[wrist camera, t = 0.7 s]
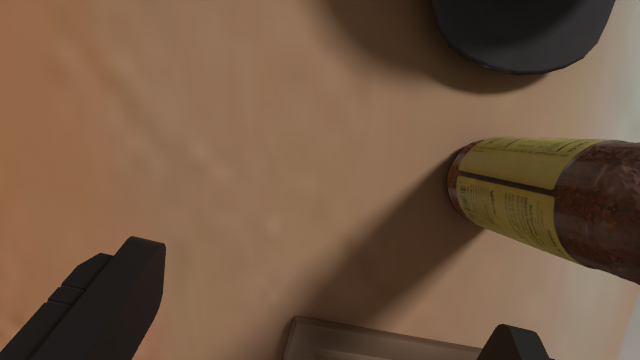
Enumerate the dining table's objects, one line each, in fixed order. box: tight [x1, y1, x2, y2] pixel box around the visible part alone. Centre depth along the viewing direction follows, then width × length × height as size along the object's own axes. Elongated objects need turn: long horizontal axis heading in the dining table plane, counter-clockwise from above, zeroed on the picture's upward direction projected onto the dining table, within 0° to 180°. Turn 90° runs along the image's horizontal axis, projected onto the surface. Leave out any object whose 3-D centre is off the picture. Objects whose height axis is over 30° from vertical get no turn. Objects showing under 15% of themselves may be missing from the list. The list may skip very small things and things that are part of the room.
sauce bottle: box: [447, 136, 640, 285], centre depth 21 cm, size 7×6×20 cm
